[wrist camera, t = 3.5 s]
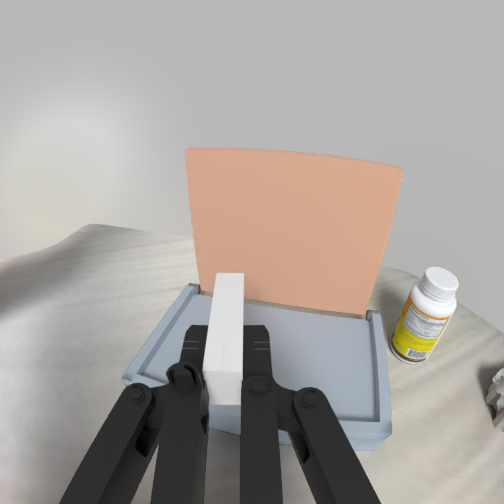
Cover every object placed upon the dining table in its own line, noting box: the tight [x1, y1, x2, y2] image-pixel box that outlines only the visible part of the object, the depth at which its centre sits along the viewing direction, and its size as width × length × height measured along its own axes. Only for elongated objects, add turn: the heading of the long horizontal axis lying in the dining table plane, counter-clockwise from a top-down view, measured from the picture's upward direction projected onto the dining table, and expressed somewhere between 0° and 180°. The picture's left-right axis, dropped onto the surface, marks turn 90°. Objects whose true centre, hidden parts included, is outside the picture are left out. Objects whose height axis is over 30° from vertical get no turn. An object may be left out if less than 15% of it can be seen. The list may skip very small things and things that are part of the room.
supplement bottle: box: [390, 267, 459, 364], centre depth 24 cm, size 6×6×10 cm
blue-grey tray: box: [122, 283, 392, 450], centre depth 25 cm, size 22×15×4 cm
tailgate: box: [185, 148, 403, 315], centre depth 26 cm, size 19×1×16 cm, turn 76°
